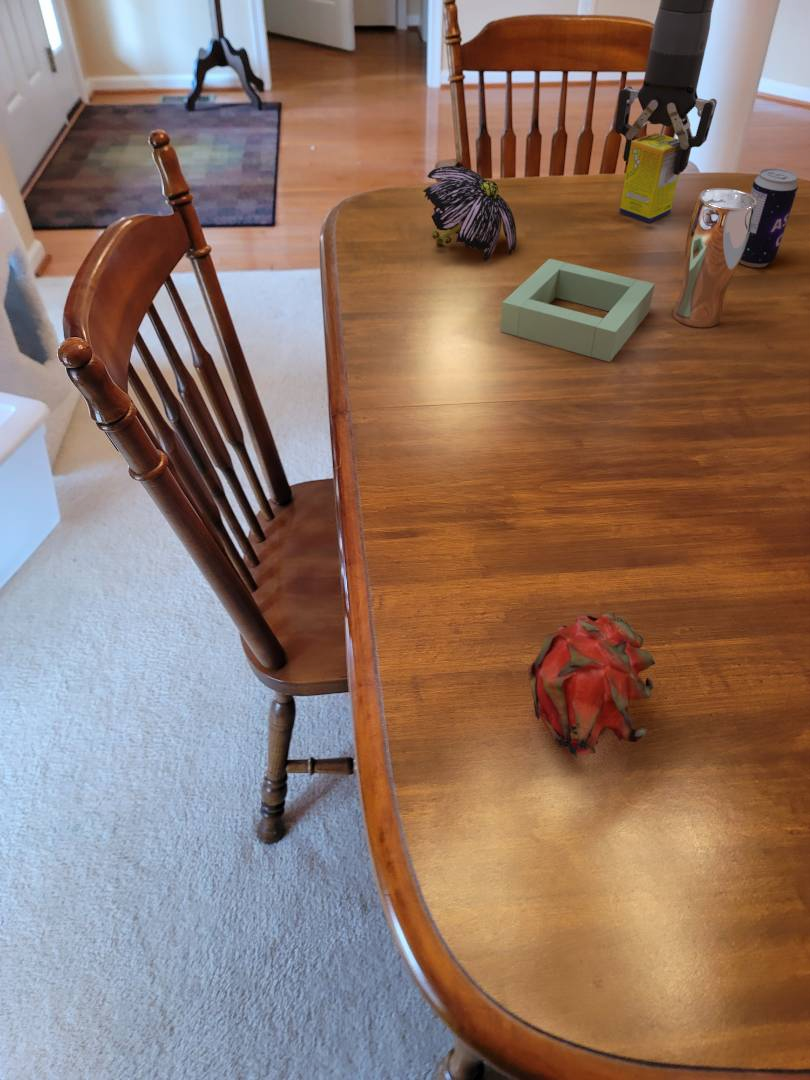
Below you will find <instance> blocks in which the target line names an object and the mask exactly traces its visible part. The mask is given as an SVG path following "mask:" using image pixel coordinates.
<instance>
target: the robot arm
mask: <svg viewBox="0 0 810 1080" xmlns="http://www.w3.org/2000/svg"><path fill="white" fill-rule="evenodd" d="M714 3H715V0H659V6H658V11H657V14H656V17H655V20H654V24H653V27H652V28H653V29H652V32H651V35H650V41H649V44H650V45H649V51H648V56H647V61H646V66H645V71H644V78H643V83H642V86H641V88H633V87H632V86H630V85H627V86H625V87H624V88H623V89H622V90H620V91H619V94H618V101H617V110H616V117H615V118H616V119H615V126H614V131H615V133H616V134H619V135H620V134H621V135H622V136H624V137H625V145H624V151H623V156H622V159H623V161H624V162H625V166H626V167H627V165H628V159H629V154H630V148H631V141H633V140H635V139H638V138H640V137H639V136H638V135H639V134H640V132H641V131H642V130H643V128H644V127H645V126H646V125H647V124H648V122H649V124H650V125H662V126H664V127H666V128H667V127H668V128H671V127H673V131H674V134H675V135H676V136H677V139H679V143H680V146H681V148H679V150H678V155H677V159H676V164H675V169H674V174H675V175H678V176H679V175H680V174H681V173H682V172H684V171H685V170H686V169H687V167H688V164H689V160H690V156H691V151H692V148H700V147H701V146H702V145H704V143H705V142H706V141H707V139H708V136H709V132H710V127H711V125H712V122H713V118H714V115H715V112H716V107H717V104H718V101H717V99H715V98H711V99H703V98H699V96H698V93H697V92H698V91H697V90H698V84H699V80H700V77H701V76H700V75H701V71H702V66H703V62H704V59H705V58H704V57H705V53H706V48H707V43H708V40H709V34H710V28H711V21H712V19H711V18H712V13H713V8H714ZM637 99H638V103H639V104H640V107H641V109H642V112H641V113H640V115H639V116H638V117H637V118H636V120H635V121H634V122H633V124H632V125H631V124H629V123H630V117H631V107H632V105H633V104H634V103H635V102H636V100H637ZM694 108H696V109H697V114H696V115H697V116H698V117H699V122H698V125H697V129H696V132H695V135H693V133H692V130H691V122H690V118H689V115H688V114H689V113H690V112H691V111H692V110H693V109H694Z"/></svg>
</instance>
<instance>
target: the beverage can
mask: <svg viewBox="0 0 810 1080" xmlns="http://www.w3.org/2000/svg"><path fill="white" fill-rule="evenodd" d="M798 178H799V176H798V174H796V172H793V171H792V170H788V169H783V168H777V167H776V168H775V167H773V168H772V167H769V168H764V169H761V170H760V171H759V173H758V175H757V176H756V178H755V179H754V180H753V183H752V187H751V190H750V193H749V194H750V195H752V196H753V197H754V198H755V199H756V200H757V204H756V207H755V212H754V217H753V222H752V227H751V231H750V235H749V239H748V242H747V245H746V248H745V250H744V253H743V255H742V258H741V260H740V262H739V264H741V265H742V266H743V265H744V266H746V267H749V268H763V267H767V266H768V264H771V263H772V262H774V261H775V260H776V258H777V255H778V251H779V249H780V245H781V242H782V240H783V239H782V238H783V235H784V233H785V230H786V227H787V223H788V220H789V217H790V214H791V211H792V208H793V204H794V200H795V198H796V196H797V193H798V188H799V185H798V184H799V183H798Z"/></svg>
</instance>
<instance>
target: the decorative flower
mask: <svg viewBox="0 0 810 1080" xmlns="http://www.w3.org/2000/svg"><path fill="white" fill-rule="evenodd" d="M427 178H428V179H432V180H440V181H437V182H435V183H433V184H431V185H430V186H428V187H426V188H425V189H424V190H422V193H423V192H424V193H425V194H424V198H426V197H427V201H430V202H431V204H433V206H434V207H433V214H432V215H430V216H431V219H432V221H433V223H434V226H435V227H436V230H434V231H432V234H431V237H432V239H434V240H435V242H436V243H435V244H436V245H437V246H442V245H443V244H444V243H445V244H447V245H449V244H451V243H452V240H453V239H452V235H454V234H457V236H456V239H455V242H456V243H462V244H464V246H465V248H466V249H468V248H469V247H470V248H471V249H472V250H474V249H476V250H479V251H480V250H481V252H482V257H481V260H483V261H485V262H488V260H489V259H490V258H491V256H492V255H493V253H494V251H495V249H496V247H497V245H498V242H499V239H500V236H501V229H502V230H503V234H504V237H505V239H506V241H507V242H506V243H507V249H508V255H509V256H511V254H512V252H513V251H514V252H515V250H516V246H517V227H516V221H515V217H514V215H513V212H512V210H511V208H510V205H508V203H507V201H505V199H504V198H503V197H502V196H501V195H500V194H499V187H498V185H497V183H496V182H495V181H493V180H492V181H491V180H490V179H485V178H484V177H483V176H482V175H480V174H479V173H478V172H476V171H474V170H472V169H470V168H467V167H463V166H456V165H449V166H448V165H447V166H441V167H440V166H439V167H438V168H434V169H432V170H431V171H429V173H428V174H427ZM437 230H438V231H443V232H442V233H441V234H440V233H439V232H438V231H437Z"/></svg>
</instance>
